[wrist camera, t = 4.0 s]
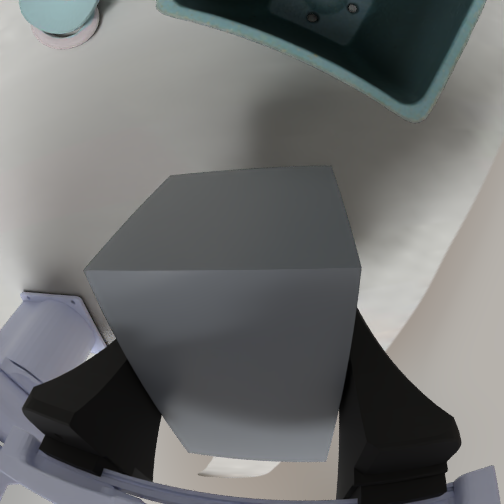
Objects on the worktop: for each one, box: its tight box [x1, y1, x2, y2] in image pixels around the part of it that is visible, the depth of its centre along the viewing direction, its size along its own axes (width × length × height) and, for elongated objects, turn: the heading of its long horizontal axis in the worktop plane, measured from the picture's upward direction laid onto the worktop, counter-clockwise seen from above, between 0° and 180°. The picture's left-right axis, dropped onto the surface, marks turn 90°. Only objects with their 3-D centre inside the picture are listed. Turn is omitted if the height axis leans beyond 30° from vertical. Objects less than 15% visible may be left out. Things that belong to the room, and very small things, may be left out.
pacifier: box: [19, 0, 99, 49], centre depth 11 cm, size 7×6×6 cm
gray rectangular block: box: [84, 166, 361, 462], centre depth 12 cm, size 6×10×6 cm, turn 6°
